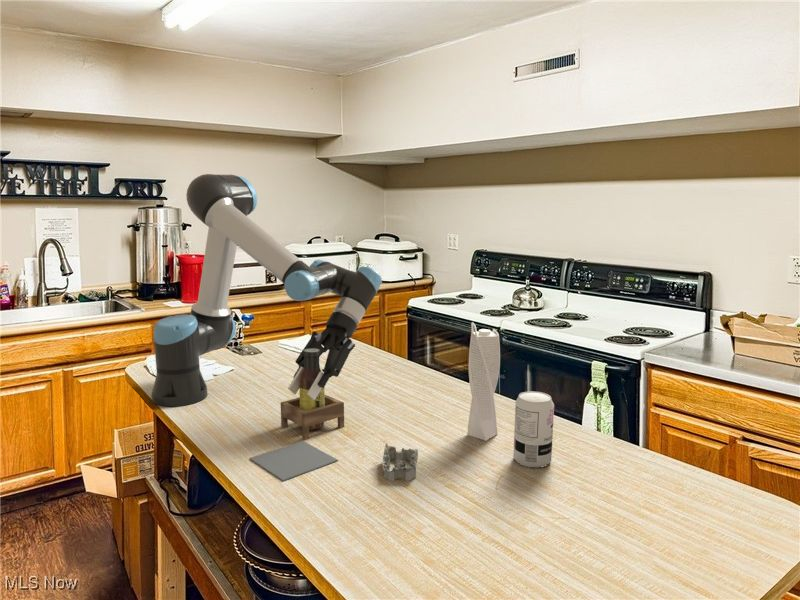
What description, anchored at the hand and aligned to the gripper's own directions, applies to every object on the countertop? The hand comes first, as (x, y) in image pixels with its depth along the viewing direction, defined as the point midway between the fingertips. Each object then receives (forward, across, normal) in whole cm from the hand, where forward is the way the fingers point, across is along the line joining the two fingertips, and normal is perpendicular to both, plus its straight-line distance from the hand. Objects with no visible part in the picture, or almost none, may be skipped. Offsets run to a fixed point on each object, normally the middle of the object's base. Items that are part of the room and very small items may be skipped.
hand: (301, 394), depth 146 cm
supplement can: (-7, -53, -21) cm, 57 cm away
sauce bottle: (+4, 0, -9) cm, 10 cm away
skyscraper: (-11, -36, -25) cm, 46 cm away
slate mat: (+16, -10, +2) cm, 19 cm away
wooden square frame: (+4, 0, -9) cm, 10 cm away
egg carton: (+8, -32, -6) cm, 34 cm away
